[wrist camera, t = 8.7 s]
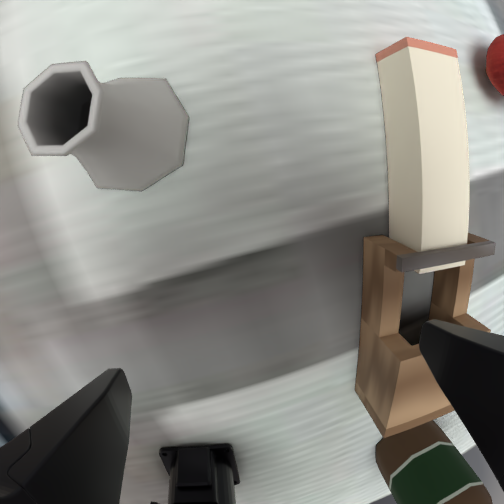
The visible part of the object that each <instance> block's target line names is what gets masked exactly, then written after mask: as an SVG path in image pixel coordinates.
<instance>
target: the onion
mask: <svg viewBox="0 0 504 504" xmlns="http://www.w3.org/2000/svg"><path fill="white" fill-rule="evenodd" d="M486 74H487V76H488V78H489V80H490V81H491V83H492V85H493V86H494V87H495V88H496V89H497V91H499V92H500V93H501V94H502V95H503V96H504V34H503V35H500V36H498V37H496V38H495V39H494V40H493V42H492V43H491V44H490V46H489V47H488V52H487V56H486Z"/></svg>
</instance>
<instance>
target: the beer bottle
mask: <svg viewBox="0 0 504 504" xmlns="http://www.w3.org/2000/svg"><path fill="white" fill-rule="evenodd" d="M376 463H377V465H378V467H379V470H380V472H381V474H382V476H383V478H384V480H385V482H386V483H387V485H388V487H389V489H390V491H391V493H392V495H393V497H394V499H395V501H396V503H397V504H492V499H491V496H490V494H489V493H488V491H487V489H486V488H485V486H484V484H483V483H482V482H481V480H480V479H479V477H477V475H476V473H475V472H474V471H473V470H472V468H471V467H470V466H469V464H468V463H467V462H466V461H465V459H464V458H463V456H462V455H461V454H460V453H459V451H458V450H457V449H456V447H455V446H454V445H453V443H452V442H451V441H450V440H449V438H448V437H447V436H446V435H445V433H444V432H443V431H442V429H441V428H440V427H439V426H438V425H437V424H436V423H435V422H434V421H433V420H431V421H429V422H426V423H424V424H421V425H419V426H416V427H414V428H411V429H408V430H406V431H403V432H400V433H397V434H395V435H392V436H389V437H386V438H383V439H382V440H381V441H380V442H379V443H378V444H377V445H376Z"/></svg>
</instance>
